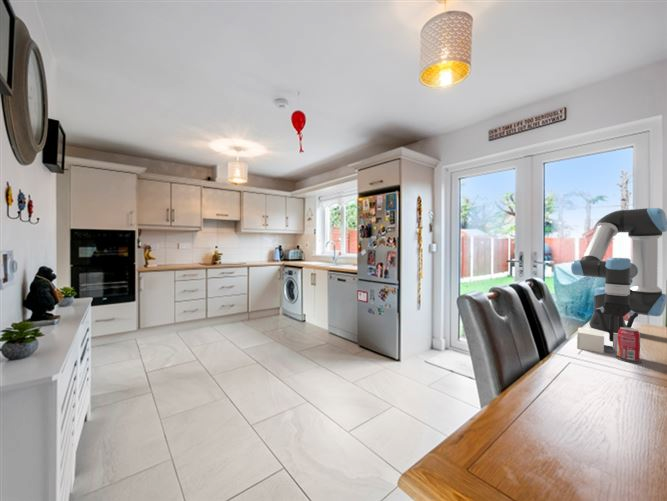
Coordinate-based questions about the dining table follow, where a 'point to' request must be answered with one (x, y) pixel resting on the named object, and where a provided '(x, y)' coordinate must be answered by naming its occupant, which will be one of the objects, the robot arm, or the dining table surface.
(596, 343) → the large cream box
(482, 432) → the dining table surface
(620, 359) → the coaster
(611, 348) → the slate tile
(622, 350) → the beverage can
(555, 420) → the dining table surface
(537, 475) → the dining table surface
